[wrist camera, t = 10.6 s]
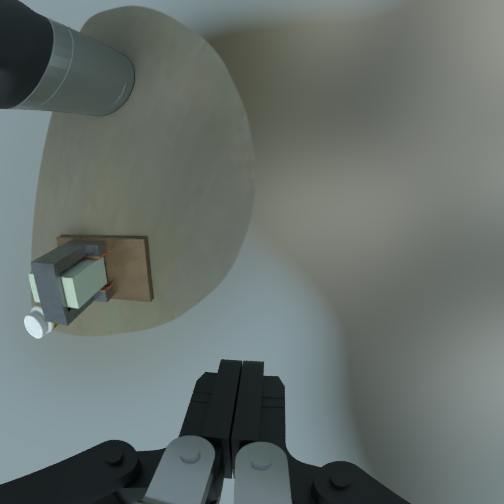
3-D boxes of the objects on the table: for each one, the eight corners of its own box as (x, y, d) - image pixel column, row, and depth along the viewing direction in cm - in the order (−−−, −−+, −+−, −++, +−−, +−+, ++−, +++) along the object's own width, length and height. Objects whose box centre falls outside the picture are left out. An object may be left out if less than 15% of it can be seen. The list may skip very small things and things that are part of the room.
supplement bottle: (60, 318, 46) (34, 343, 38) (46, 295, 45) (17, 318, 37) (76, 310, 45) (49, 336, 37) (61, 286, 44) (31, 309, 36)
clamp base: (147, 236, 40) (110, 264, 30) (153, 298, 43) (123, 337, 33) (61, 235, 41) (17, 258, 31) (70, 289, 44) (32, 320, 34)
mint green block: (103, 256, 40) (72, 278, 32) (107, 282, 41) (78, 308, 34) (60, 254, 40) (28, 273, 33) (65, 278, 42) (35, 301, 34)
